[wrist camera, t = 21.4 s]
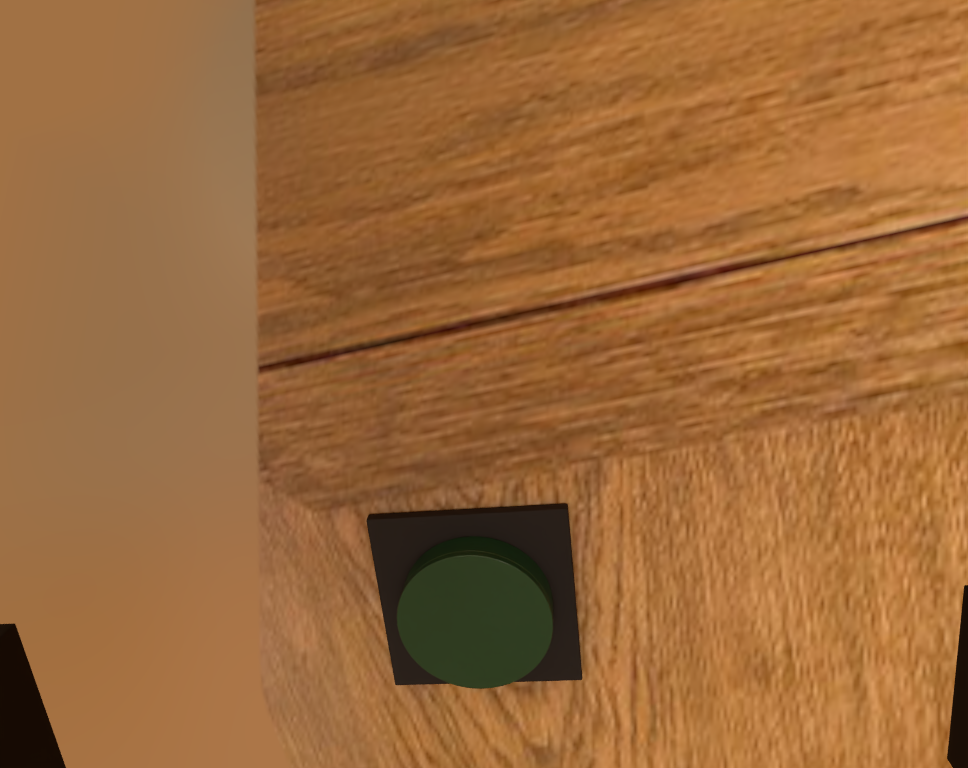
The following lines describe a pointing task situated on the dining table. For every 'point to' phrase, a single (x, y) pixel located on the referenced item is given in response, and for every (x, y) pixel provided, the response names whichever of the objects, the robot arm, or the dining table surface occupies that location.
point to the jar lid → (476, 612)
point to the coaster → (521, 526)
